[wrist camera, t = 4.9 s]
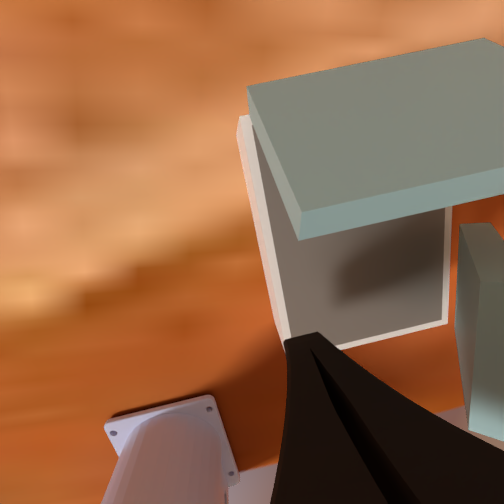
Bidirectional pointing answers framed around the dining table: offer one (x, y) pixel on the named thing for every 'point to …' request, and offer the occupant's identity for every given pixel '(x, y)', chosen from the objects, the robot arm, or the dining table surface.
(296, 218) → the side flap
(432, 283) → the carton
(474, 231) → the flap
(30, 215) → the dining table surface
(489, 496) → the robot arm
